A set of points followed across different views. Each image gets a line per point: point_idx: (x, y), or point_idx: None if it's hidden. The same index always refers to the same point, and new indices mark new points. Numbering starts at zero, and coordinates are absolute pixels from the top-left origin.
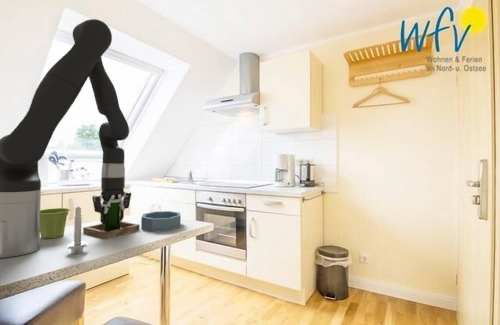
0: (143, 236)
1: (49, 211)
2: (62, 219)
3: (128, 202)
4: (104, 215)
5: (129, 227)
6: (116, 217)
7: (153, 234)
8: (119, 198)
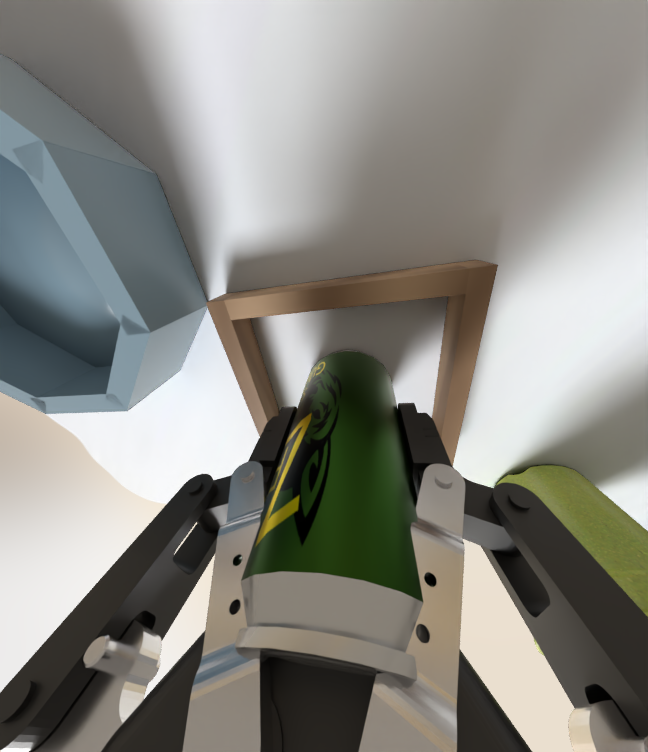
0: (261, 59)
1: None
2: (608, 553)
3: (155, 534)
4: (432, 458)
5: (287, 291)
6: (345, 402)
7: (166, 46)
8: (247, 658)
